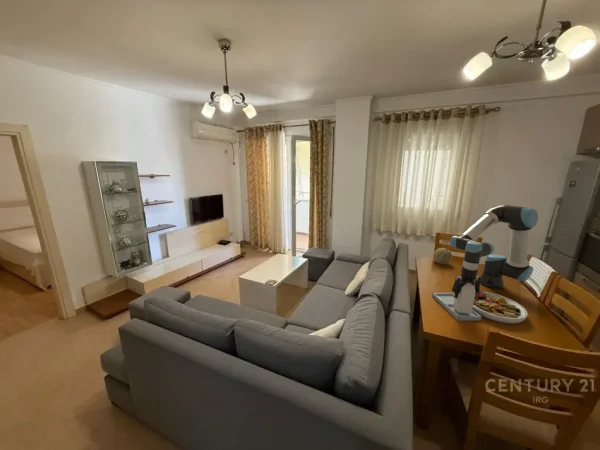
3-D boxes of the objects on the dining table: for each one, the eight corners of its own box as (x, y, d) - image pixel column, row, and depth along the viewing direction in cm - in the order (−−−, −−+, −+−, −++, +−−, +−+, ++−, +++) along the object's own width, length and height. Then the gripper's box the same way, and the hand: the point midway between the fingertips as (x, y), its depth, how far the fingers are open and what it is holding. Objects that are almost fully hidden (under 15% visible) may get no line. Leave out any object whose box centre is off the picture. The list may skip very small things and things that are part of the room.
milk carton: (471, 314, 144) (477, 285, 139) (458, 312, 145) (463, 284, 140) (465, 307, 150) (471, 279, 146) (453, 306, 152) (458, 278, 147)
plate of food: (534, 316, 146) (537, 304, 144) (512, 333, 132) (515, 320, 130) (478, 293, 171) (481, 283, 169) (455, 305, 157) (457, 294, 155)
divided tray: (451, 295, 168) (452, 292, 167) (481, 320, 142) (481, 316, 141) (432, 296, 167) (432, 292, 167) (457, 320, 141) (458, 316, 141)
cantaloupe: (433, 259, 233) (435, 244, 230) (451, 262, 225) (453, 247, 221) (431, 264, 221) (433, 248, 218) (450, 267, 213) (452, 251, 210)
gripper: (482, 265, 145) (475, 299, 150) (448, 265, 144) (442, 299, 150) (492, 270, 137) (485, 305, 143) (456, 270, 137) (450, 306, 143)
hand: (463, 302), depth 146 cm, fingers closed on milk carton, 8 cm apart
